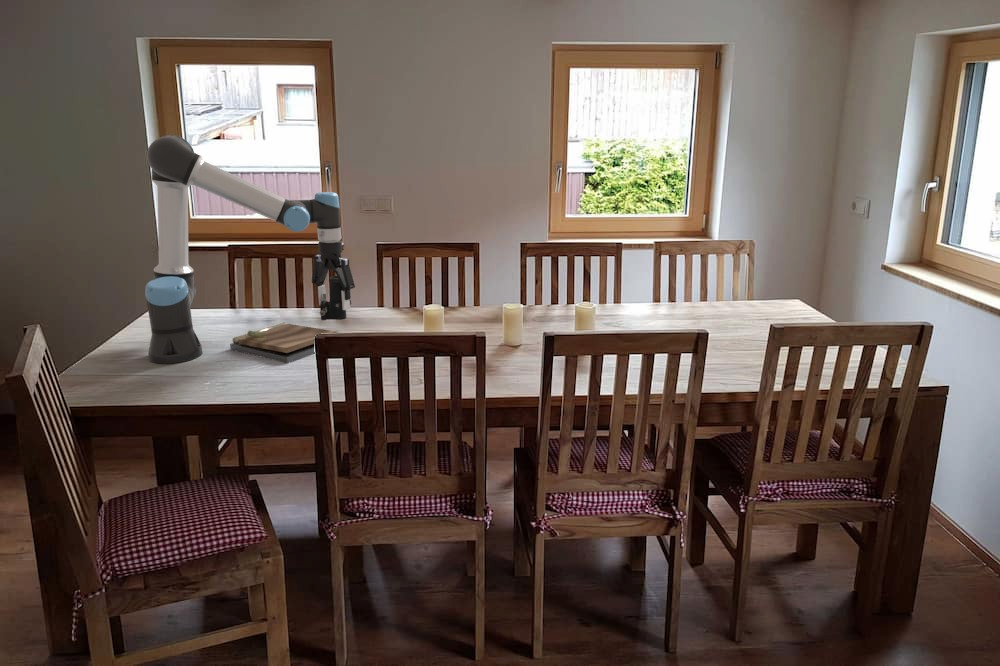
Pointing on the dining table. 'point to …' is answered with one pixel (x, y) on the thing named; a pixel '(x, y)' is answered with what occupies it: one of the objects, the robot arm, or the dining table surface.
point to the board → (283, 338)
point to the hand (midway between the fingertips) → (334, 307)
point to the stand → (271, 353)
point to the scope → (333, 302)
